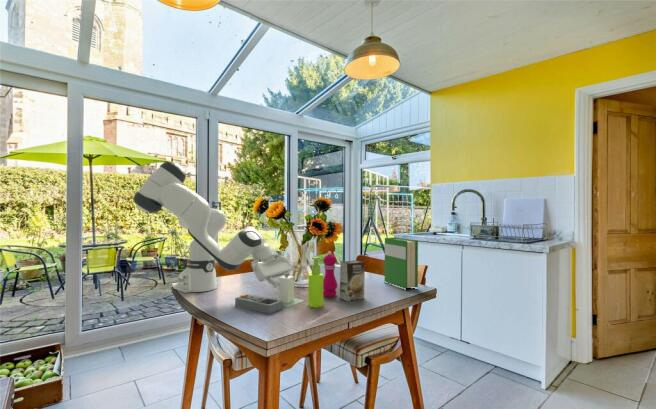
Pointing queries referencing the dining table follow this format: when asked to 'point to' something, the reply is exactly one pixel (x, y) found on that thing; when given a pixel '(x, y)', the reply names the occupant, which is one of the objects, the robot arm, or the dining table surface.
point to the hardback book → (401, 262)
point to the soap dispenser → (315, 285)
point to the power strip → (258, 303)
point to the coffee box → (352, 280)
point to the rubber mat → (292, 302)
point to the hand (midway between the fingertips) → (284, 284)
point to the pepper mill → (329, 276)
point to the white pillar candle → (286, 288)
